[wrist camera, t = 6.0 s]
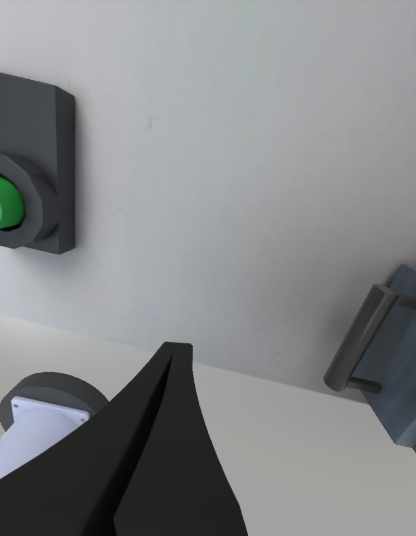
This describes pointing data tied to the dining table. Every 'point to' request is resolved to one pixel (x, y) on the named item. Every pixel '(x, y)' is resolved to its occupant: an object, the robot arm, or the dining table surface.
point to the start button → (10, 204)
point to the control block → (38, 162)
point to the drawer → (383, 356)
